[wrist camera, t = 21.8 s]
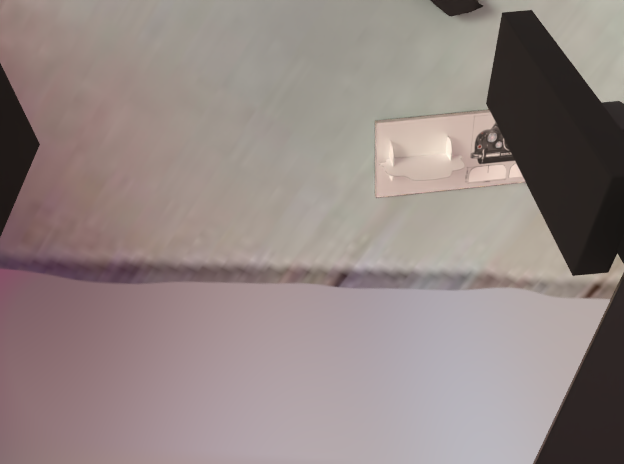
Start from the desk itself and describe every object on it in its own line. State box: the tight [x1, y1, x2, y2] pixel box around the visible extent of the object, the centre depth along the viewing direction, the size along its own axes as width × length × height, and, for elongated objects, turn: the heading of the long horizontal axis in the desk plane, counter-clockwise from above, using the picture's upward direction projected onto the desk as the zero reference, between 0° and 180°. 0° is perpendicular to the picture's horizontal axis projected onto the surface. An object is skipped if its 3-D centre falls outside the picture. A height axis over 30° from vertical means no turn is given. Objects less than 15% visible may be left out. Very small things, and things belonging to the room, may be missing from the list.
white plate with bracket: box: [375, 110, 525, 198], centre depth 46 cm, size 15×7×4 cm, turn 93°
